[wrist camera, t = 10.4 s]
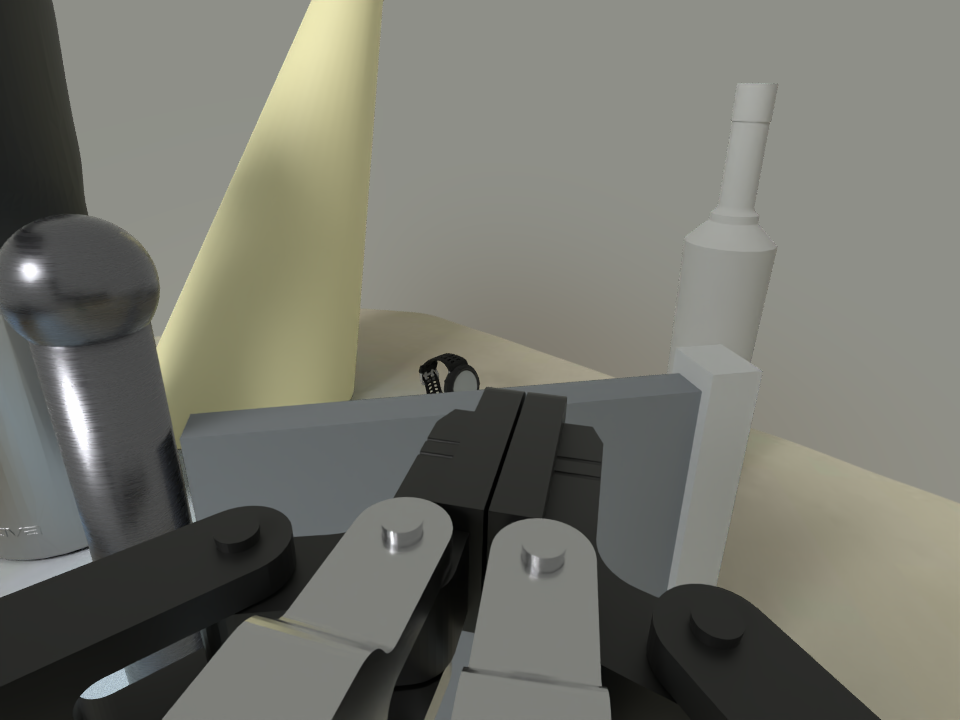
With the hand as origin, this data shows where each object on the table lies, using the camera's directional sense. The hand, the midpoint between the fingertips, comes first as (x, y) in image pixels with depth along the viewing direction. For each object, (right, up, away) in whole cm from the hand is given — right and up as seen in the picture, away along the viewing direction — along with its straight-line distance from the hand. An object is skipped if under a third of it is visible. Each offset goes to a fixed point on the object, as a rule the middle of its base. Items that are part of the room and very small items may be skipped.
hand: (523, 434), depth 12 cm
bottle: (+14, -7, +31) cm, 35 cm away
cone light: (-19, -1, +44) cm, 48 cm away
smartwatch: (-3, -3, +40) cm, 40 cm away
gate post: (-11, -15, +12) cm, 22 cm away
